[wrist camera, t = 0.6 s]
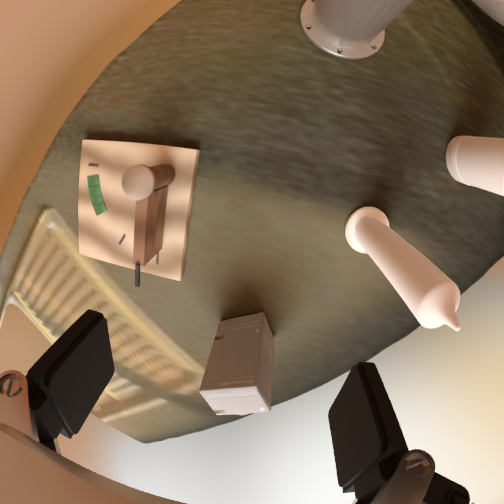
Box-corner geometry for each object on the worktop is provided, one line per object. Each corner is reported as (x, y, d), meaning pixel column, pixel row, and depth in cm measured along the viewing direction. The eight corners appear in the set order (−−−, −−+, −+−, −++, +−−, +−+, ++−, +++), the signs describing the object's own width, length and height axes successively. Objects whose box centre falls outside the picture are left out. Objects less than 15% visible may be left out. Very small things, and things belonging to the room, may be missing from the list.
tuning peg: (154, 158, 35) (123, 163, 27) (180, 162, 35) (154, 167, 27) (145, 261, 41) (119, 287, 33) (168, 267, 41) (145, 295, 33)
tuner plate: (88, 139, 36) (82, 139, 35) (200, 149, 36) (196, 149, 35) (84, 251, 44) (78, 254, 42) (183, 276, 44) (179, 281, 42)
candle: (337, 243, 40) (402, 360, 16) (355, 199, 37) (454, 275, 14) (377, 257, 40) (458, 368, 17) (394, 215, 37) (504, 298, 14)
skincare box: (264, 310, 45) (258, 381, 30) (275, 342, 47) (274, 413, 32) (216, 320, 46) (194, 388, 31) (231, 350, 48) (216, 419, 34)
